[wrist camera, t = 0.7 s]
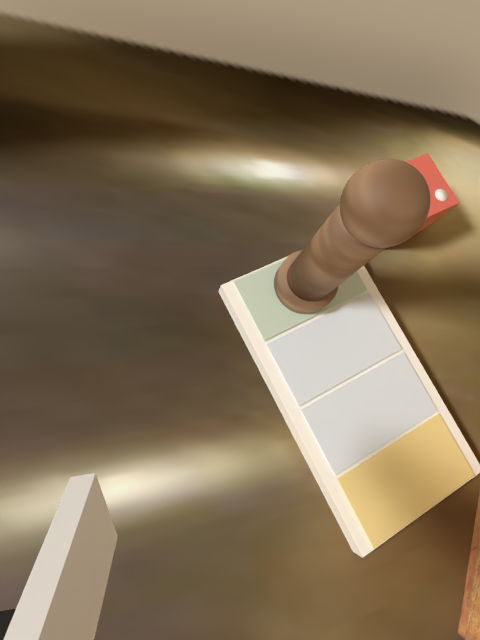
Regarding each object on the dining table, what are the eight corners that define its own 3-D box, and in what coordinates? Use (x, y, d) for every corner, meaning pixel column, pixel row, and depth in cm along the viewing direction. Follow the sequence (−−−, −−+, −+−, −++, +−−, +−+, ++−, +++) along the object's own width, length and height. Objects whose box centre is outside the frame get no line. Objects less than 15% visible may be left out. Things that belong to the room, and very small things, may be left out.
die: (354, 203, 38) (382, 170, 33) (395, 186, 40) (428, 152, 35) (381, 249, 37) (414, 222, 33) (422, 230, 39) (459, 202, 34)
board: (218, 291, 33) (221, 284, 32) (337, 239, 37) (345, 230, 35) (352, 551, 30) (363, 558, 29) (469, 468, 34) (485, 470, 32)
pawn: (263, 270, 33) (341, 153, 19) (312, 249, 34) (419, 124, 20) (292, 324, 32) (394, 242, 18) (341, 299, 33) (472, 206, 20)
